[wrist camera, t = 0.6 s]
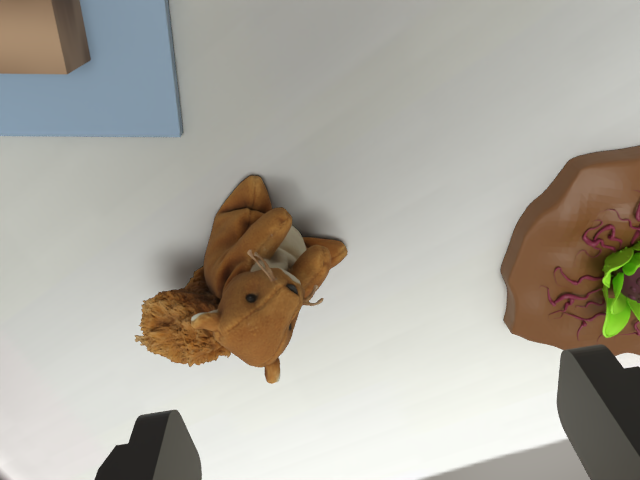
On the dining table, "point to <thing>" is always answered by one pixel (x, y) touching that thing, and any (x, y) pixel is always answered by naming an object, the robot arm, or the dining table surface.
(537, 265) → the plant
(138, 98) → the light blue board
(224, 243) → the stuffed squirrel
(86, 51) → the walnut plinth
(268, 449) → the dining table surface
